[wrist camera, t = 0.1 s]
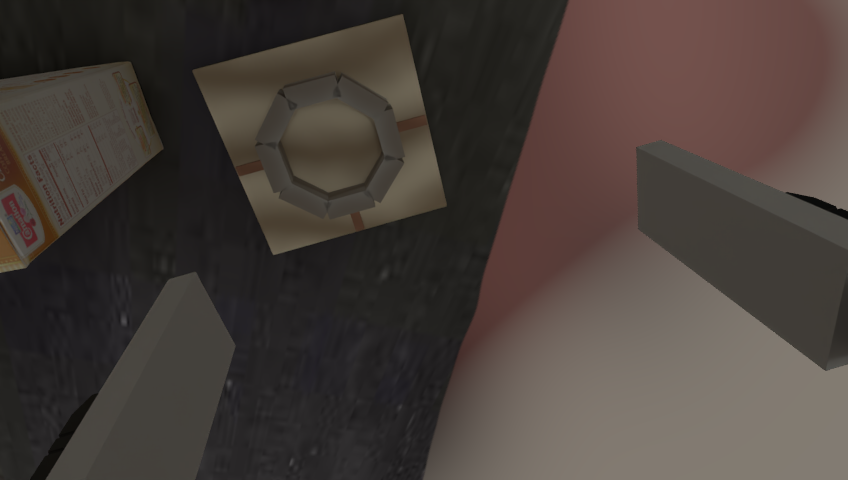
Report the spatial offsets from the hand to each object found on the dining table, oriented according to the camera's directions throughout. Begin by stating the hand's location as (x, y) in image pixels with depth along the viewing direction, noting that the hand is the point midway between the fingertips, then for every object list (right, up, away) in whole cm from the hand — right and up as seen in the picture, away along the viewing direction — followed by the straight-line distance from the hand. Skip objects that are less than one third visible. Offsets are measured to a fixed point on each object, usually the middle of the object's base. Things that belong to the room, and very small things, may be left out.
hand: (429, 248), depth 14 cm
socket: (-8, +8, +26) cm, 28 cm away
